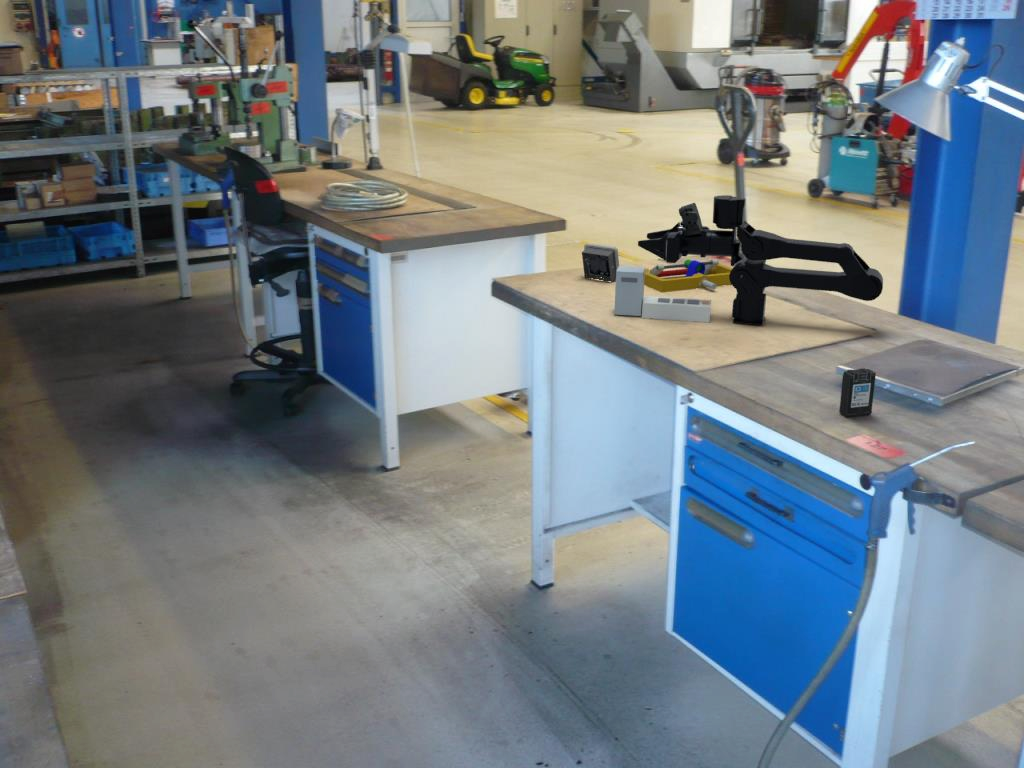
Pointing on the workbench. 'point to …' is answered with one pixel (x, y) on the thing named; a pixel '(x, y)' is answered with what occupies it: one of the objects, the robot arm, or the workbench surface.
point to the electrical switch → (600, 262)
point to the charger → (629, 290)
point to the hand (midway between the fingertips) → (642, 239)
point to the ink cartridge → (857, 392)
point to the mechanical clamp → (688, 276)
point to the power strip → (676, 309)
